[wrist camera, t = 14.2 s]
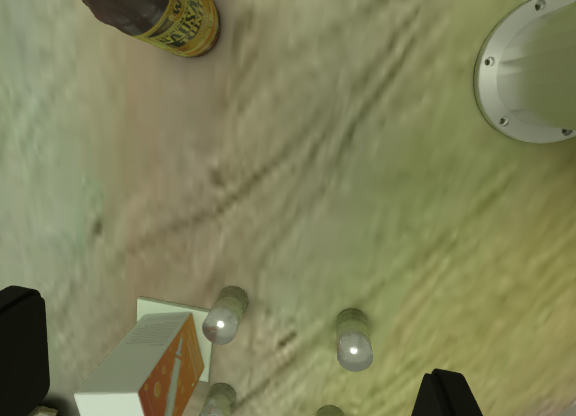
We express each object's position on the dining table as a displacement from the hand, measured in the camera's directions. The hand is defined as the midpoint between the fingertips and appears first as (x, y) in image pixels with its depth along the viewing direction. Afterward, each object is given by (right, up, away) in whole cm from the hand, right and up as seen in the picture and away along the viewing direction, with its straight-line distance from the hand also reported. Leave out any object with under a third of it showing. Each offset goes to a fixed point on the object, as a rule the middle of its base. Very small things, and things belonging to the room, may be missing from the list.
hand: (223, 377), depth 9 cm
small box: (-12, -12, +36) cm, 40 cm away
